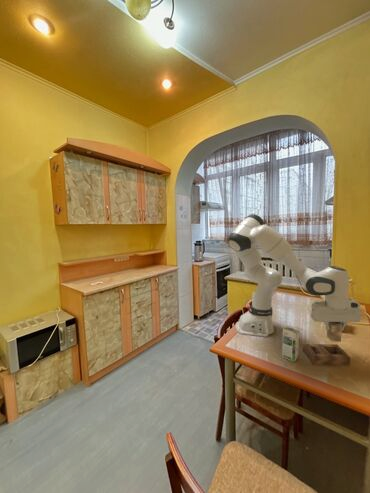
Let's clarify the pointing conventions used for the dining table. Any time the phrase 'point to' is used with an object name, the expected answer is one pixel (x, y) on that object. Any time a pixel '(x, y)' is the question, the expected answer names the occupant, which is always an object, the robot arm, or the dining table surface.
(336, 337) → the oak peg
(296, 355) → the syrup box
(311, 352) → the socket block
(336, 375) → the dining table surface
